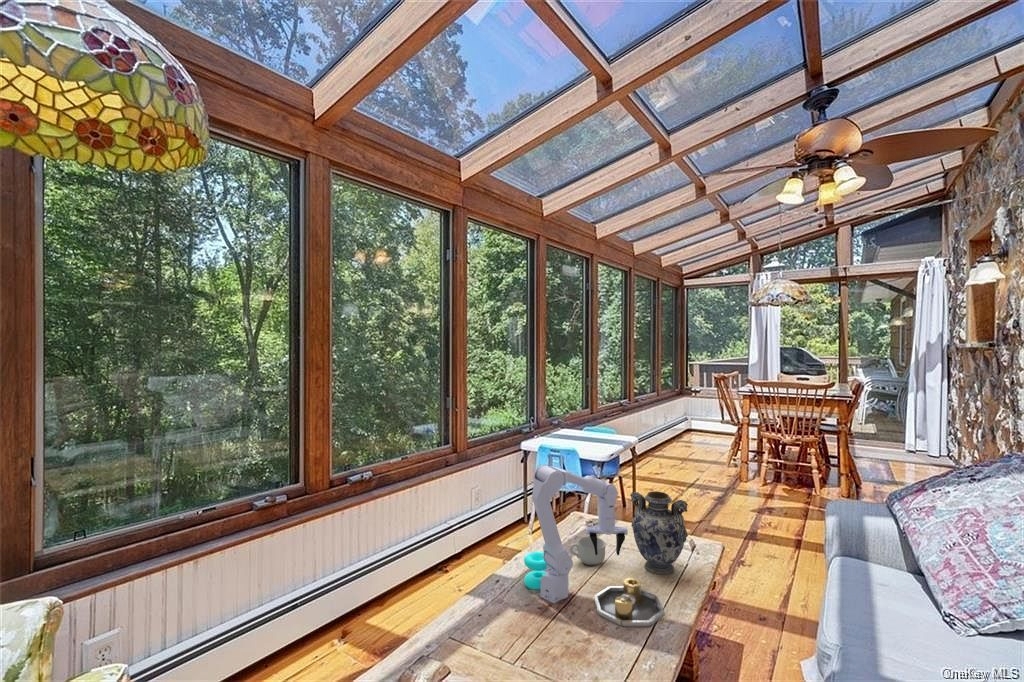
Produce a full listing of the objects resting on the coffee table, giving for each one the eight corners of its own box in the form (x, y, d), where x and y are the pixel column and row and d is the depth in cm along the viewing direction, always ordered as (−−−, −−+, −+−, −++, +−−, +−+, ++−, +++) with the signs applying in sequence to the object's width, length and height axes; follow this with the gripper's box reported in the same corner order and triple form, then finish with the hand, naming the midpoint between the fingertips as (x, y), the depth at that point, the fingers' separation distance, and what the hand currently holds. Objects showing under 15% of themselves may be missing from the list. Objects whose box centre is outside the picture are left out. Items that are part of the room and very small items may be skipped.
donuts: (536, 566, 160) (518, 555, 168) (536, 595, 160) (518, 583, 168) (558, 557, 166) (539, 547, 174) (558, 586, 166) (540, 574, 174)
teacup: (604, 556, 188) (604, 536, 188) (607, 569, 178) (607, 548, 178) (569, 555, 190) (569, 535, 190) (570, 568, 179) (569, 547, 179)
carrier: (639, 639, 136) (639, 616, 136) (581, 609, 151) (581, 589, 151) (674, 609, 151) (674, 589, 151) (618, 585, 166) (618, 566, 166)
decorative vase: (693, 563, 181) (692, 491, 180) (684, 586, 165) (682, 507, 164) (638, 551, 192) (636, 483, 191) (624, 572, 176) (622, 497, 175)
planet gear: (622, 599, 155) (622, 584, 155) (626, 591, 160) (626, 576, 160) (638, 603, 153) (638, 587, 153) (641, 595, 158) (641, 580, 158)
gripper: (587, 520, 165) (587, 558, 165) (629, 520, 164) (629, 559, 164) (585, 512, 172) (585, 549, 172) (625, 513, 171) (625, 550, 171)
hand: (606, 553), depth 169 cm, fingers open, 7 cm apart
